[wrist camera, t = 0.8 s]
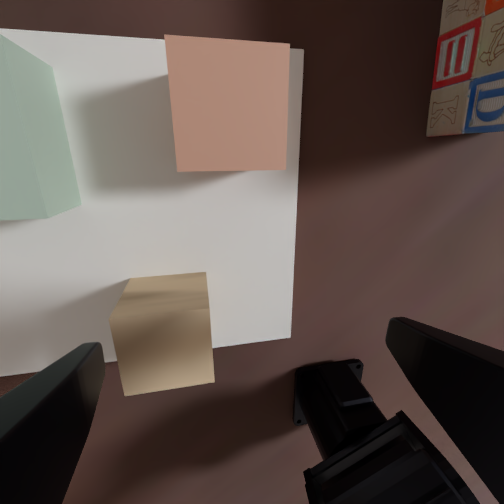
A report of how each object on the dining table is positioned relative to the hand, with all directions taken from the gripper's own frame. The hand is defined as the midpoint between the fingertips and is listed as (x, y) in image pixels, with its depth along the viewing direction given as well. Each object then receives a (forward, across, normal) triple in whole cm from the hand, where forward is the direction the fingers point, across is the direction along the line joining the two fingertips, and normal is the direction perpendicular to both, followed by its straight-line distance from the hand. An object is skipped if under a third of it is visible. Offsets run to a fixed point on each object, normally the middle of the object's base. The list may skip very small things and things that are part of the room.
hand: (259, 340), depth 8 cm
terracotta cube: (+11, 0, -7) cm, 13 cm away
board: (+12, +7, -1) cm, 14 cm away
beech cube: (+11, +4, +5) cm, 13 cm away
